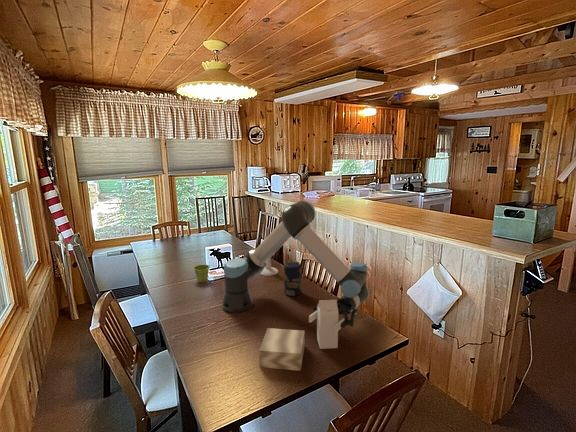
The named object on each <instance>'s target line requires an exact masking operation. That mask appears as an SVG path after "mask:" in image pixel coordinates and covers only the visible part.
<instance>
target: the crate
mask: <svg viewBox="0 0 576 432" xmlns="http://www.w3.org/2000/svg"><path fill="white" fill-rule="evenodd" d="M305 332H306V331H305V330H302V329H301V330H299V329H286V328H283V329H282V328H272V327H270V328H269V327H267V328H266V332H265V334H264V336H263V339H262V342H261V344H260V347H259V350H258V359H259V361H258V362H259V368H265V369H274V370H275V369H278V370H288V371H289V370H290V371H299V372H300V371H302V365H303V357H304V352H305V346H306V345H305V344H306V343H305V341H306V340H305V339H306V338H305V334H306V333H305Z"/></svg>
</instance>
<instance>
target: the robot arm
mask: <svg viewBox="0 0 576 432" xmlns="http://www.w3.org/2000/svg"><path fill="white" fill-rule="evenodd" d="M315 218H316V209H315V207H314V205H313V204H312V203H311V202H309V201H307V200H299V201H297V202H295V203H292V204H289V205H287V206H286V207H284V209H283V211H282V213H281V222H279V224H277V226H276V227H275V228H274V229H273V230H272V231H271V232H269V236H268V237H267V238H266V237H265V238H266V239H265V238H264V239H263V241H261V243H260V244H259V245H258V246H257V247H256V248H252V249H250V251H248V252H247V253H246V254H245V255H244V257H235V258H232V259H230V260H228V261H227V262H225V263H224V266H223V267H224V268H223V276H224V291H225V292H224V295H223V299H222V303H221V304H222V310H224V311H225V312H228V313H233V314H234V313H235V314H239V313H242V312H243V313H244V312H246V311H249V310H250V309H251V308H253V299H252V296H251V294H250V291H249V281H251V280H252V279H253V278H255V277H256V276H258V275H261V274H260V273H261V272H262V271H263V269H264V268H265V267H266V265H267V260H268V259H269V258H270V259H271V258H272V256H273V255H275V254H276V252H277V251H279V250H280V248H282V246H283V245H284V244H285V243H286V242H288V240H290V239H291V237H292V238H293V239H294V240H298V242H299V243H300V244H302V246H303V247H304V248H305V249H306V250H307V251H308V252H309V253H310V254H311V255H312V257H314V259H315V260H316V261H317V262H318V263H319V265H321V266H322V267H323V268H324V270H326V272H327V273H328V274H329V275H330V277H332V278H333V280H335V282H337V283H338V284H339V285H338V286H340V291H341V294H342V296H341V297H339V299H337V307H338V313H339V314H338V315H342V319H340V320H338V323H337V324H336V325H335V332H338V333H339V331H340V330H341V329H344V328H345V327H346V326H350V327H353V326H354V323H355V319H356V318H355V317H357V315H358V314H357V313H358V310H357V308H358V307H359V306H360V305H361V304H362V303H364V302H366V301H367V299H368V298H369V296H370V290H369V288H368V286H367V279H368V266H367V264H366V263H364V262H361V261H360V262H359V261H354V262H352V263H351V264H350V268H348V267H347V265H346V264H345V263H344V262H343V261H342V260H341V259H340V258H339V257H338V255H336V254H335V253H334V251H332V249H331V248H330V247H329V246H328V245H327V244H326V243H325V242H324V241H323V240H322V239H321V238H320V237H319V235H318V234H317V233H316V232H315V231H314V230H313V229H312V228H311V223H312V222H313V221H314V220H315ZM348 315H350V319H349V317H348ZM314 320H317V305H315V306H313V307H312V312H311V314H309V315H308V323H312V322H314Z"/></svg>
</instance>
